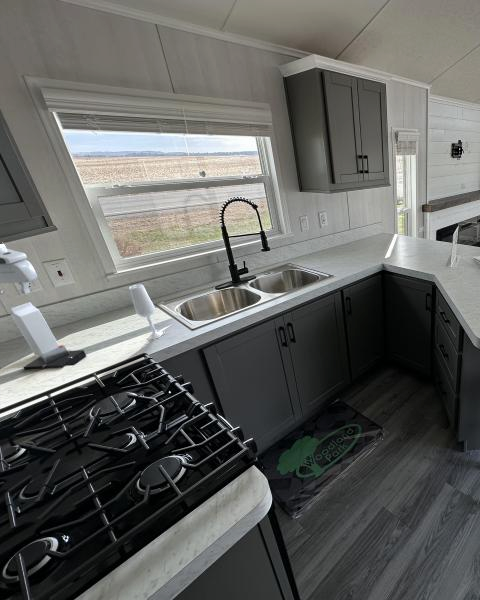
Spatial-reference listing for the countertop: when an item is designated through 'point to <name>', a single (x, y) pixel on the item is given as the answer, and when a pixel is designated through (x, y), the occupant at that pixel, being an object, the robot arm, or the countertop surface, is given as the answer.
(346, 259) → the countertop surface
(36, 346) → the milk
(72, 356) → the tap plate
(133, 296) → the champagne flute
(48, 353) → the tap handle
